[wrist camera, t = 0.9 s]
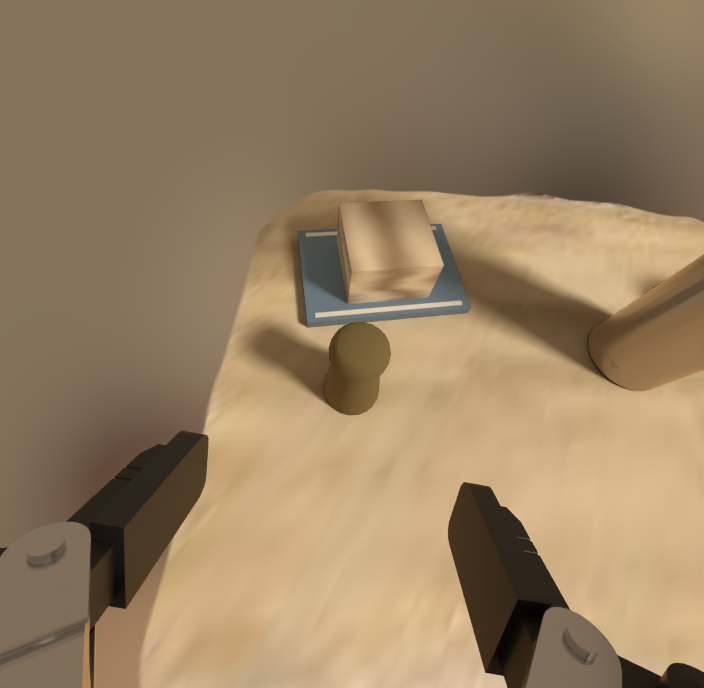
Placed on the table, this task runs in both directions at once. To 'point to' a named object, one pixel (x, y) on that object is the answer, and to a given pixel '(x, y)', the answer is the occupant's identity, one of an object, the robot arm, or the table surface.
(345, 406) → the cork
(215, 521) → the table surface
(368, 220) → the maple pedestal
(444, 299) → the board
